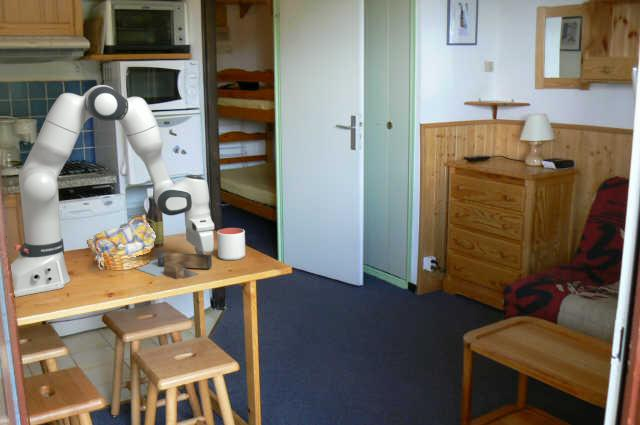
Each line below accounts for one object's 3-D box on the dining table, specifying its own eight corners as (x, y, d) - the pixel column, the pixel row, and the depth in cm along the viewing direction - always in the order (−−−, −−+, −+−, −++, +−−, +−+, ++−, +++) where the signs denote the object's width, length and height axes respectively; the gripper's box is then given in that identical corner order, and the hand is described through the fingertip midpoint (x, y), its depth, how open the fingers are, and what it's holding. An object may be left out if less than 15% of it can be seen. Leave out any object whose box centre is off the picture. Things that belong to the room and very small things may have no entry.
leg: (156, 266, 247) (155, 253, 246) (160, 263, 250) (159, 250, 249) (208, 268, 244) (208, 255, 243) (211, 265, 247) (211, 253, 246)
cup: (247, 260, 256) (246, 233, 254) (219, 262, 254) (218, 235, 251) (243, 252, 265) (242, 227, 263) (216, 254, 263) (215, 228, 261)
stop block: (178, 279, 234) (177, 268, 233) (164, 274, 239) (163, 263, 238) (198, 274, 240) (197, 263, 239) (184, 269, 245) (183, 258, 244)
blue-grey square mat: (156, 276, 238) (156, 275, 237) (130, 267, 248) (130, 266, 248) (194, 266, 249) (194, 265, 249) (168, 257, 260) (168, 256, 260)
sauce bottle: (146, 245, 277) (143, 195, 273) (162, 243, 279) (159, 194, 275) (149, 249, 271) (146, 198, 267) (166, 247, 274) (163, 197, 269)
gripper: (180, 216, 254) (182, 253, 257) (198, 228, 236) (200, 267, 239) (197, 214, 257) (199, 250, 260) (216, 225, 239) (218, 264, 242)
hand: (200, 258), depth 249 cm, fingers closed
